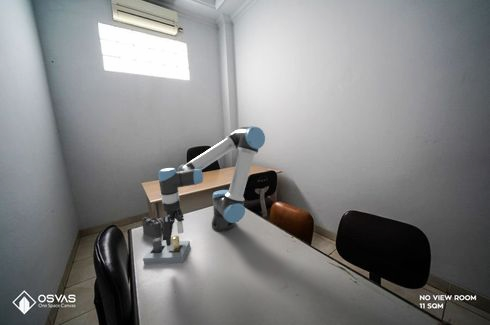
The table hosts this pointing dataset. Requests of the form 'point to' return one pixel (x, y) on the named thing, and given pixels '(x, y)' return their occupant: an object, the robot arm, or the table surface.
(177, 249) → the brass cylinder
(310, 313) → the table surface
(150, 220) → the camera
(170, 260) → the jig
